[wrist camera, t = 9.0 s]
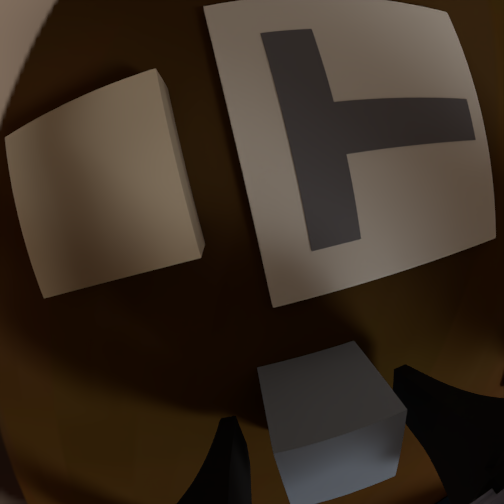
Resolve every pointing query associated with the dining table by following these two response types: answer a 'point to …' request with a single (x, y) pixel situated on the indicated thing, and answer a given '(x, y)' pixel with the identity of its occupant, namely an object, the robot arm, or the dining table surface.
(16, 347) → the dining table surface
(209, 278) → the dining table surface
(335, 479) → the slate cube
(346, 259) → the letter card
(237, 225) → the dining table surface
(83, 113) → the birch block
